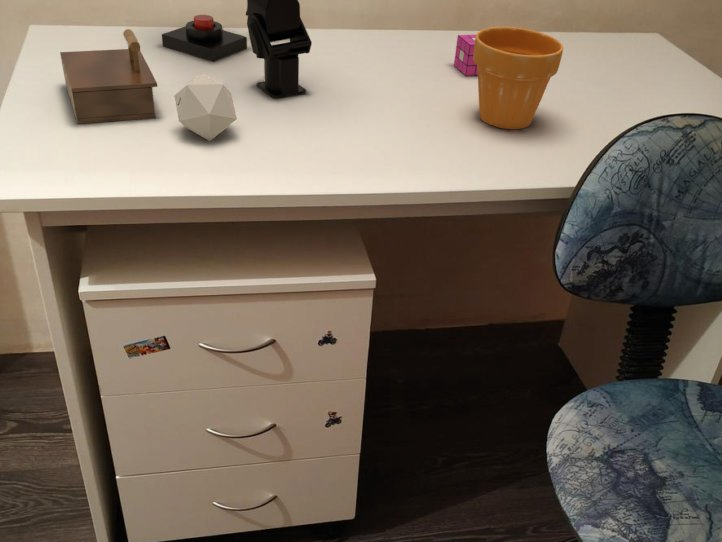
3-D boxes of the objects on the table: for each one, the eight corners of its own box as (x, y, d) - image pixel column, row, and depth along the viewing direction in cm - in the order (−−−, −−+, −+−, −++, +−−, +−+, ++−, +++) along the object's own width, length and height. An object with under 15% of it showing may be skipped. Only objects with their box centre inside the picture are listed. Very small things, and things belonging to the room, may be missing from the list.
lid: (139, 52, 133) (135, 19, 130) (157, 86, 123) (153, 51, 119) (60, 55, 129) (54, 21, 126) (72, 92, 119) (65, 56, 115)
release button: (218, 27, 150) (217, 17, 149) (205, 32, 147) (204, 21, 146) (202, 23, 151) (202, 13, 150) (190, 27, 149) (189, 17, 147)
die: (195, 120, 128) (157, 78, 119) (243, 95, 126) (209, 50, 117) (202, 160, 124) (164, 119, 115) (252, 135, 122) (217, 92, 113)
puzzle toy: (492, 74, 153) (497, 44, 150) (465, 76, 152) (470, 45, 148) (479, 64, 157) (484, 34, 154) (453, 65, 155) (457, 34, 152)
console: (247, 48, 153) (246, 26, 150) (213, 62, 146) (211, 39, 143) (198, 34, 157) (196, 12, 154) (162, 46, 150) (160, 23, 147)
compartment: (138, 81, 136) (134, 52, 133) (155, 118, 126) (152, 87, 123) (66, 86, 132) (60, 56, 129) (77, 124, 122) (72, 92, 119)
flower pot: (489, 96, 145) (502, 20, 136) (560, 119, 139) (578, 42, 131) (448, 118, 135) (459, 38, 127) (522, 144, 130) (538, 62, 121)
